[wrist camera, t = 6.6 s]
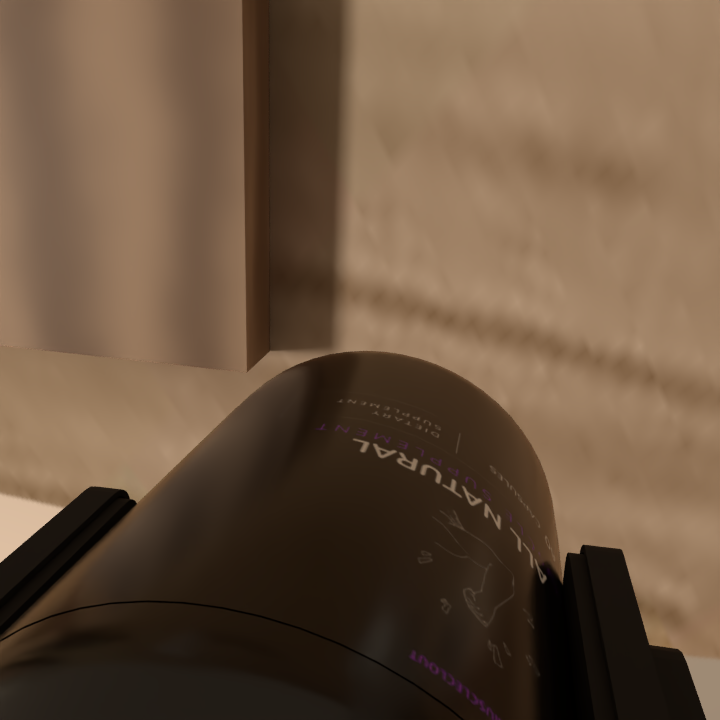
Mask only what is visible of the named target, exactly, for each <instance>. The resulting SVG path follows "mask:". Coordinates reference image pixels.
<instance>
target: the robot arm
mask: <svg viewBox="0 0 720 720" xmlns="http://www.w3.org/2000/svg"><path fill="white" fill-rule="evenodd" d="M136 504H137V503H136V501H134V500H131V499H130V498H129V495H128V493H127V492H126V491H125V490H121V489H112V488H104V487H89V488H88V489H86V490H85V491H84V492H83V493H81V494H80V495H79V496H78V497H77V498H76V499H74V500H73V501H72V502H71V503H70V504H69V505H67V506H66V507H65V508H64V509H63V510H62V511H60V512H59V513H58V514H57V515H56V516H55V517H53V518H52V519H51V520H50V521H49V522H48V523H46V524H45V525H44V526H43V527H42V528H41V529H39V530H38V531H37V532H36V533H35V534H34V535H33V536H31V537H30V538H29V539H28V540H27V541H25V542H24V543H23V544H22V545H21V546H20V547H18V548H17V549H16V550H15V551H14V552H13V553H11V554H10V555H9V556H8V557H7V558H5V559H4V560H3V561H2V562H1V563H0V636H1V635H2V634H3V633H4V632H5V631H6V630H7V629H8V628H9V627H10V626H11V625H12V624H13V623H14V622H15V621H16V620H17V619H18V618H19V617H20V616H21V615H22V614H23V613H24V612H25V611H26V610H27V609H28V608H30V607H31V606H32V605H33V604H34V603H35V602H36V601H37V600H38V599H39V598H40V597H41V596H42V595H43V594H44V593H45V592H46V591H47V590H48V589H49V588H50V587H51V586H52V585H53V584H54V583H55V582H56V581H57V580H58V579H59V578H61V577H62V576H63V575H64V574H65V573H66V572H67V571H68V570H69V569H70V568H71V567H72V566H73V565H74V564H75V563H76V562H77V561H78V560H79V559H80V558H81V557H82V556H83V555H84V554H85V553H86V552H87V551H88V550H90V549H91V548H92V547H93V546H94V545H95V544H96V543H97V542H98V541H99V540H100V539H101V538H102V537H103V536H104V535H105V534H106V533H107V532H108V531H109V530H110V529H111V528H112V527H113V526H114V525H115V524H116V523H117V522H119V521H120V520H121V519H122V518H123V517H124V516H125V515H126V514H127V513H128V512H129V511H130V510H131V509H132V508H133V507H134V506H135V505H136ZM563 594H564V603H565V612H566V620H567V629H568V638H569V647H570V656H571V665H572V674H573V683H574V691H575V700H576V709H577V718H578V720H706V718H705V715H704V712H703V709H702V706H701V703H700V700H699V697H698V695H697V691H696V689H695V686H694V683H693V680H692V677H691V674H690V671H689V668H688V665H687V663H686V660H685V658H684V656H683V653H682V652H681V651H680V650H678V649H673V648H666V647H659V646H652V645H649V643H648V639H647V636H646V632H645V629H644V625H643V621H642V618H641V614H640V611H639V607H638V604H637V600H636V597H635V593H634V590H633V586H632V583H631V579H630V576H629V572H628V568H627V565H626V561H625V558H624V554H623V552H622V550H621V549H615V548H606V547H598V546H590V545H582V547H581V550H580V554H575V553H568V554H567V557H566V562H565V570H564V578H563Z"/></svg>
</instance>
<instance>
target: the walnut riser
mask: <svg viewBox="0 0 720 720" xmlns="http://www.w3.org/2000/svg"><path fill="white" fill-rule="evenodd" d="M0 346H8V347H18V348H27V349H36V350H45V351H54V352H63V353H73V354H82V355H91V356H100V357H109V358H119V359H128V360H137V361H146V362H155V363H164V364H174V365H183V366H192V367H201V368H210V369H219V370H229V371H238V372H248V371H249V370H250V369H251V368H252V367H253V366H254V365H255V364H256V363H257V362H259V361H260V360H261V359H262V358H263V357H264V356H265V355H266V354H267V353H268V352H269V351H270V253H269V0H0Z"/></svg>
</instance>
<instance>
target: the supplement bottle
mask: <svg viewBox="0 0 720 720" xmlns="http://www.w3.org/2000/svg"><path fill="white" fill-rule="evenodd" d="M0 720H578V718H577V709H576V700H575V691H574V683H573V674H572V665H571V656H570V647H569V638H568V629H567V620H566V612H565V603H564V594H563V580H562V570H561V561H560V552H559V544H558V536H557V530H556V523H555V516H554V510H553V503H552V498H551V494H550V490H549V486H548V483H547V479H546V476H545V473H544V471H543V468H542V466H541V463H540V461H539V459H538V457H537V455H536V453H535V451H534V449H533V447H532V445H531V444H530V442H529V440H528V439H527V437H526V436H525V434H524V433H523V431H522V430H521V429H520V427H519V426H518V425H517V424H516V422H515V421H514V420H513V419H512V417H511V416H510V415H509V414H508V413H507V412H506V411H505V410H504V409H503V408H502V407H501V406H500V405H499V404H498V403H497V402H496V401H494V400H493V399H492V398H491V397H490V396H488V395H487V394H486V393H485V392H484V391H482V390H481V389H480V388H478V387H477V386H475V385H474V384H472V383H471V382H469V381H468V380H466V379H464V378H463V377H461V376H459V375H457V374H456V373H454V372H452V371H450V370H447V369H445V368H443V367H441V366H438V365H436V364H433V363H430V362H428V361H425V360H422V359H419V358H415V357H410V356H406V355H402V354H395V353H388V352H377V351H355V352H343V353H336V354H330V355H326V356H322V357H318V358H314V359H311V360H308V361H306V362H303V363H300V364H298V365H296V366H294V367H291V368H289V369H287V370H285V371H283V372H282V373H280V374H279V375H277V376H275V377H274V378H272V379H271V380H269V381H268V382H266V383H265V384H264V385H262V386H261V387H260V388H259V389H257V390H256V391H255V392H254V393H252V394H251V395H250V396H249V397H248V398H247V399H246V400H245V401H244V402H242V403H241V404H240V405H239V406H238V407H237V408H236V409H234V410H233V411H232V412H231V413H230V414H229V415H228V416H227V417H226V418H225V419H224V420H223V421H222V422H221V423H220V424H219V425H218V426H217V427H216V428H215V429H214V430H213V431H212V432H211V433H210V434H209V435H208V436H206V437H205V438H204V439H203V440H202V441H201V442H200V443H199V444H198V445H197V446H196V447H195V448H194V449H193V450H192V451H191V452H190V453H189V454H188V455H187V456H186V457H185V458H184V459H183V460H182V461H181V462H180V463H179V464H178V465H176V466H175V467H174V468H173V469H172V470H171V471H170V472H169V473H168V474H167V475H166V476H165V477H164V478H163V479H162V480H161V481H160V482H159V483H158V484H157V485H156V486H155V487H154V488H153V489H152V490H151V491H150V492H149V493H147V494H146V495H145V496H144V497H143V498H142V499H141V500H140V501H139V502H138V503H137V504H136V505H135V506H134V507H133V508H132V509H131V510H130V511H129V512H128V513H127V514H126V515H125V516H124V517H123V518H122V519H121V520H120V521H119V522H117V523H116V524H115V525H114V526H113V527H112V528H111V529H110V530H109V531H108V532H107V533H106V534H105V535H104V536H103V537H102V538H101V539H100V540H99V541H98V542H97V543H96V544H95V545H94V546H93V547H92V548H91V549H90V550H88V551H87V552H86V553H85V554H84V555H83V556H82V557H81V558H80V559H79V560H78V561H77V562H76V563H75V564H74V565H73V566H72V567H71V568H70V569H69V570H68V571H67V572H66V573H65V574H64V575H63V576H62V577H61V578H59V579H58V580H57V581H56V582H55V583H54V584H53V585H52V586H51V587H50V588H49V589H48V590H47V591H46V592H45V593H44V594H43V595H42V596H41V597H40V598H39V599H38V600H37V601H36V602H35V603H34V604H33V605H32V606H31V607H30V608H28V609H27V610H26V611H25V612H24V613H23V614H22V615H21V616H20V617H19V618H18V619H17V620H16V621H15V622H14V623H13V624H12V625H11V626H10V627H9V628H8V629H7V630H6V631H5V632H4V633H3V634H2V635H1V636H0Z"/></svg>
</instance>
